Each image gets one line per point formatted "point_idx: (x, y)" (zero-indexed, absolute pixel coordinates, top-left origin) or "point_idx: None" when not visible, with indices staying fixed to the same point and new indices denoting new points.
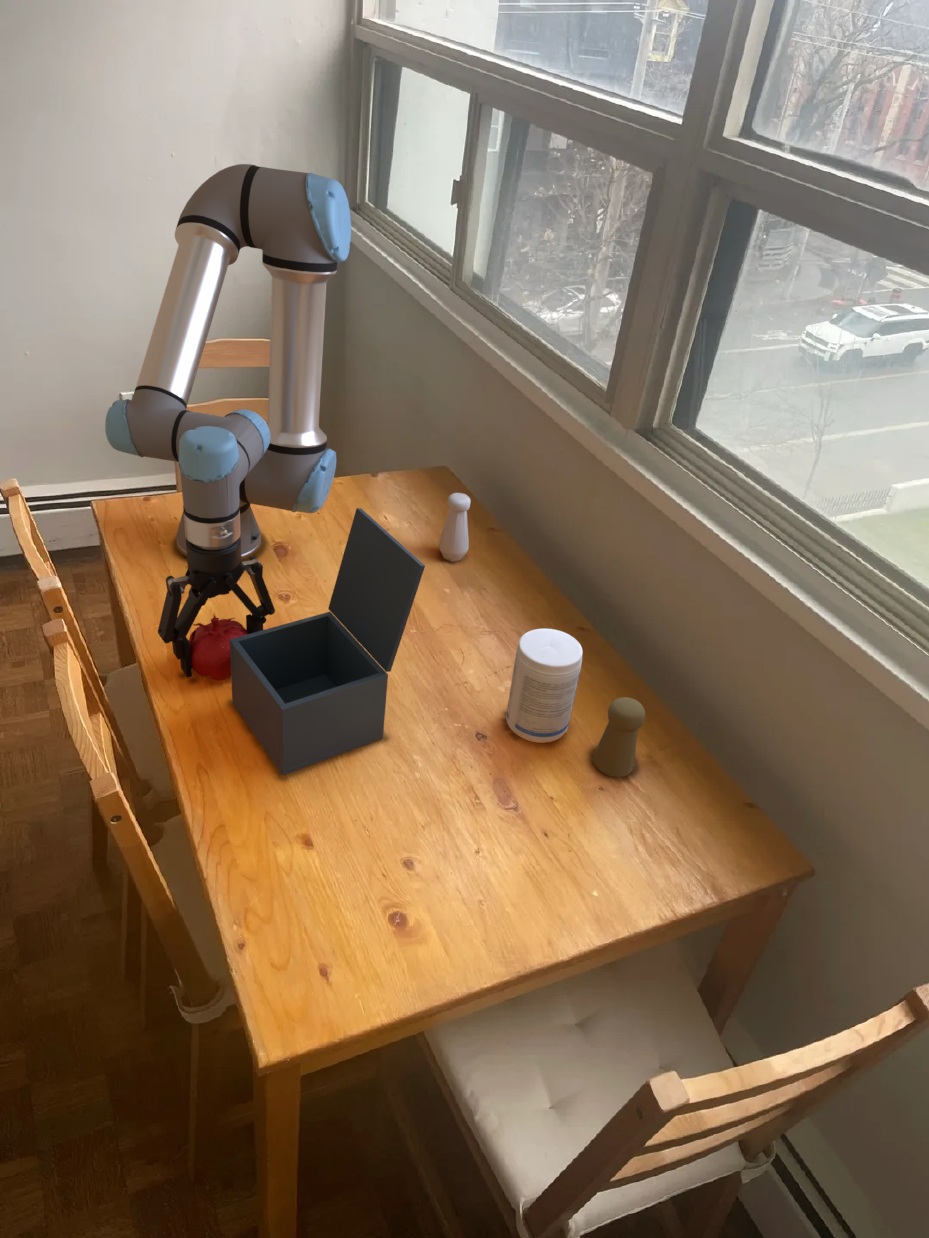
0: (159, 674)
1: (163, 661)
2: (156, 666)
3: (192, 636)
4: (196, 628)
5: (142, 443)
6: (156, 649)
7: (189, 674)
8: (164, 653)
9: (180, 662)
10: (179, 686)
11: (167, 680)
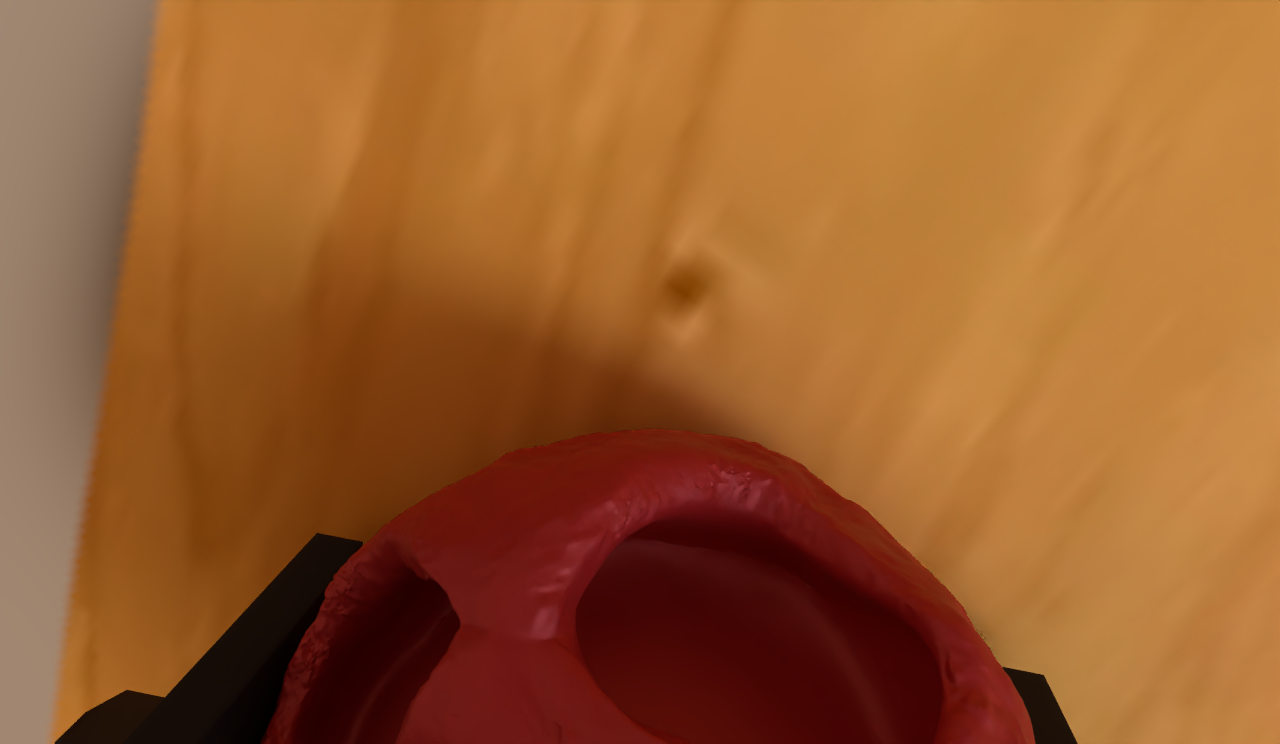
0: (162, 430)
1: (260, 286)
2: (177, 314)
3: (426, 575)
4: (420, 719)
5: None
6: (272, 61)
7: None
8: (316, 175)
9: (286, 568)
10: None
11: (194, 536)
